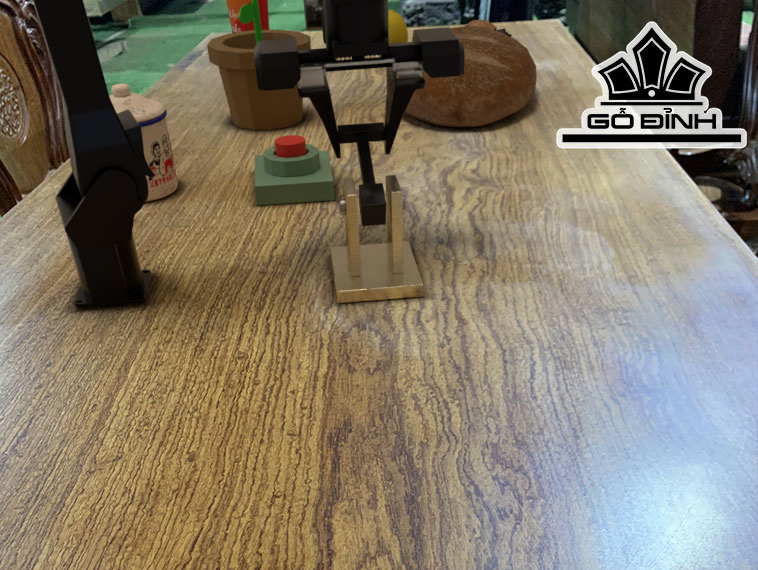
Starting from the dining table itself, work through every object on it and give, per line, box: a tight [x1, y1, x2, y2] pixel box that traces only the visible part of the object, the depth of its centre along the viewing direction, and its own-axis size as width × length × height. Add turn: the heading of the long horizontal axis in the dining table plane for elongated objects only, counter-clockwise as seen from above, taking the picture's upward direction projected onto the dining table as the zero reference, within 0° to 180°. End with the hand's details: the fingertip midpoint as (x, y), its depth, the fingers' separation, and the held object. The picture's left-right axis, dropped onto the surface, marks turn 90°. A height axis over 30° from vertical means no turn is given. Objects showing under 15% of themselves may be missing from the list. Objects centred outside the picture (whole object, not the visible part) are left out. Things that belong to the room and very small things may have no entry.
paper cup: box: [225, 0, 270, 33], centre depth 140 cm, size 8×8×14 cm
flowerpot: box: [206, 0, 312, 131], centre depth 111 cm, size 14×14×30 cm
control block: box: [254, 143, 335, 206], centre depth 98 cm, size 11×9×4 cm
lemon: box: [388, 9, 409, 44], centre depth 142 cm, size 6×6×8 cm
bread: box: [404, 26, 538, 128], centre depth 125 cm, size 22×37×8 cm, turn 175°
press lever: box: [337, 121, 387, 227], centre depth 78 cm, size 12×4×2 cm, turn 6°
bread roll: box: [463, 19, 513, 37], centre depth 153 cm, size 11×8×4 cm
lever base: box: [329, 174, 424, 304], centre depth 77 cm, size 10×8×9 cm
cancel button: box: [274, 134, 307, 158], centre depth 97 cm, size 4×4×2 cm
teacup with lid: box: [109, 83, 179, 202], centre depth 97 cm, size 12×9×12 cm
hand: (363, 155), depth 81 cm, fingers closed on press lever, 4 cm apart
